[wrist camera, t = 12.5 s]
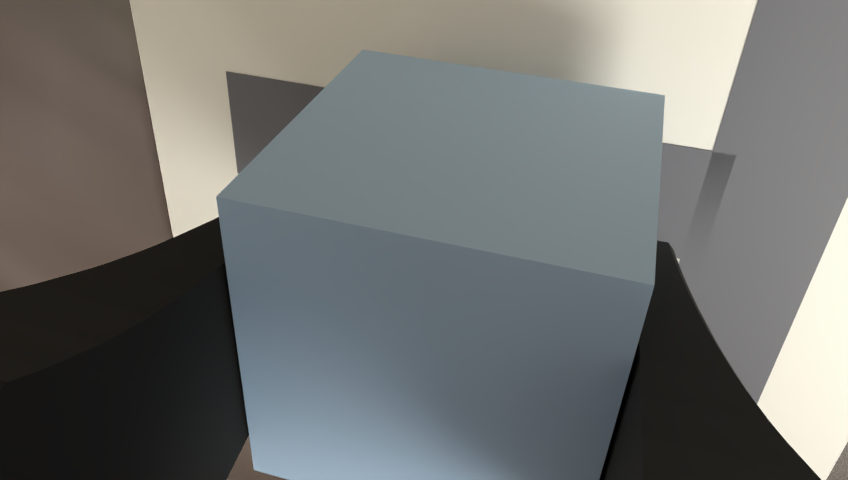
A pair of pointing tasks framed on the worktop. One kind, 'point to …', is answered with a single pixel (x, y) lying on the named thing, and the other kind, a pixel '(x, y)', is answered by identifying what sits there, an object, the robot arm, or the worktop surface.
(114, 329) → the robot arm
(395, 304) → the blue cube
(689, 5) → the letter board
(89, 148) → the worktop surface
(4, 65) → the worktop surface
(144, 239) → the worktop surface
